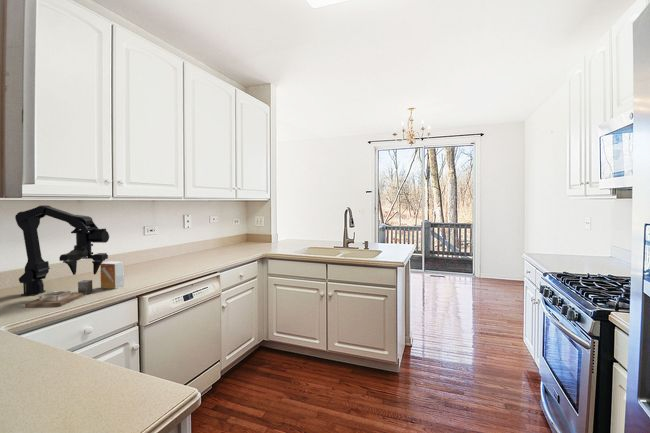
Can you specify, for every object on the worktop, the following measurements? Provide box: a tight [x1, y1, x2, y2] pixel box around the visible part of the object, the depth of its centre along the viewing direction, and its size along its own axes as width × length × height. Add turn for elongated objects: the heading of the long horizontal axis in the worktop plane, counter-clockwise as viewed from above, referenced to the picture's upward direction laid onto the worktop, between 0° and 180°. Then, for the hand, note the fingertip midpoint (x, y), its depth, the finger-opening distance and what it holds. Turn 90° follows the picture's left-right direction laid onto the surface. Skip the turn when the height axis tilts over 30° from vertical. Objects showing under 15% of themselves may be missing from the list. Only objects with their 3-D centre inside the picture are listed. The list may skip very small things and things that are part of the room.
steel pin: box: [77, 279, 93, 295], centre depth 151 cm, size 4×4×6 cm
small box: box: [100, 260, 125, 290], centre depth 162 cm, size 8×6×13 cm
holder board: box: [24, 290, 84, 308], centre depth 139 cm, size 14×14×4 cm
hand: (84, 274), depth 151 cm, fingers open, 9 cm apart
